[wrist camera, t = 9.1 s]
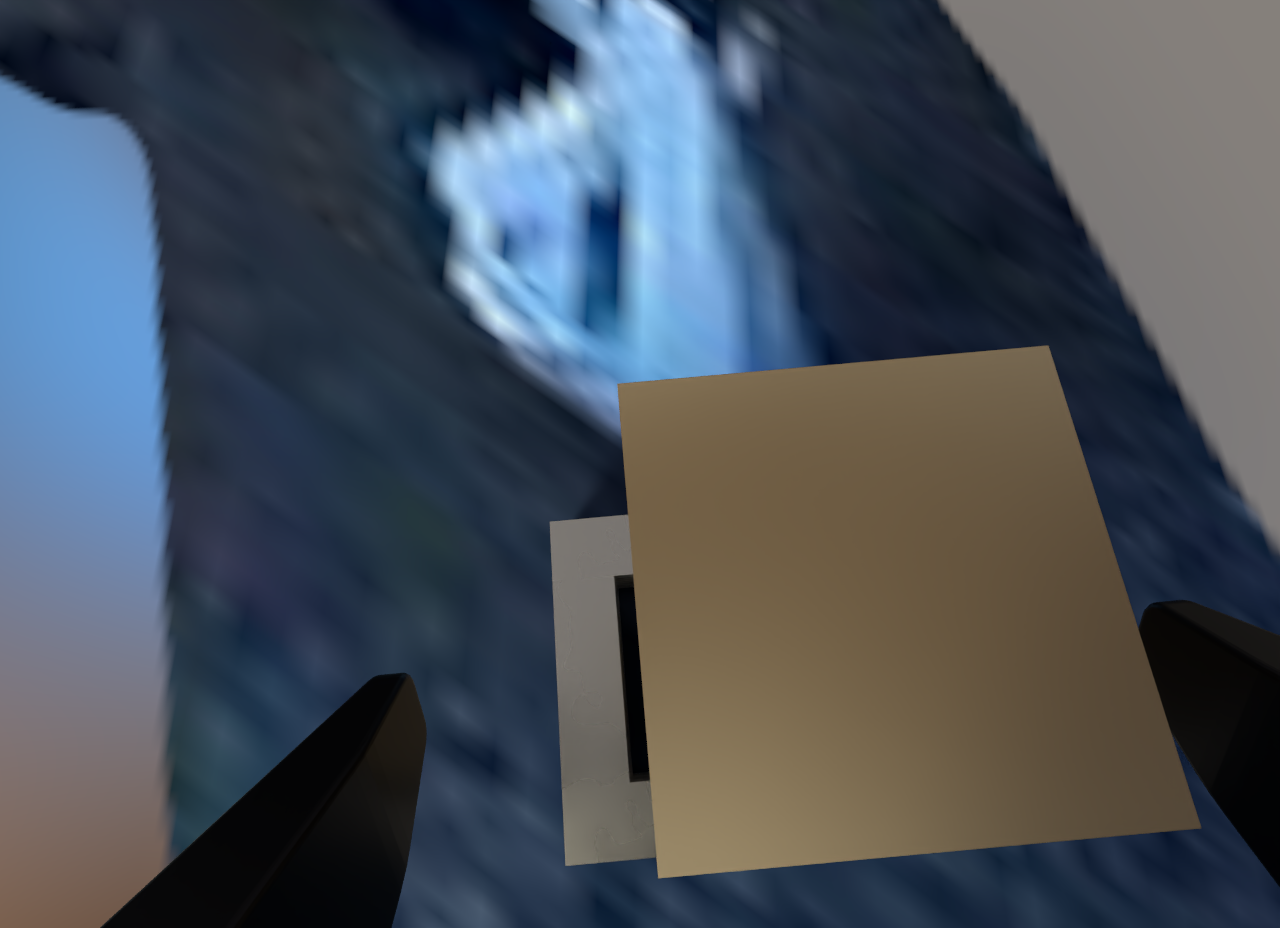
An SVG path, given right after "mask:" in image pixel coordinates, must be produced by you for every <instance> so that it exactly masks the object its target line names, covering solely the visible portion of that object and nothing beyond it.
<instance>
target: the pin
mask: <svg viewBox="0 0 1280 928" xmlns="http://www.w3.org/2000/svg"><path fill="white" fill-rule="evenodd" d="M617 385H618V397H619V409H620V421H621V434H622V446H623V458H624V470H625V482H626V494H627V506H628V518H629V530H630V542H631V554H632V566H633V578H634V591H635V603H636V615H637V627H638V639H639V651H640V663H641V675H642V687H643V699H644V711H645V723H646V735H647V747H648V760H649V772H650V784H651V796H652V808H653V820H654V832H655V844H656V856H657V868H658V878H666V877H677V876H688V875H698V874H709V873H720V872H731V871H742V870H753V869H764V868H774V867H785V866H796V865H807V864H818V863H829V862H840V861H851V860H861V859H872V858H883V857H894V856H905V855H916V854H927V853H937V852H948V851H959V850H970V849H981V848H992V847H1003V846H1013V845H1024V844H1035V843H1046V842H1057V841H1068V840H1079V839H1090V838H1100V837H1111V836H1122V835H1133V834H1144V833H1155V832H1166V831H1176V830H1187V829H1198V828H1201V825H1200V822H1199V819H1198V816H1197V813H1196V810H1195V806H1194V803H1193V800H1192V797H1191V794H1190V791H1189V788H1188V784H1187V781H1186V778H1185V775H1184V772H1183V769H1182V765H1181V762H1180V759H1179V756H1178V753H1177V750H1176V747H1175V743H1174V740H1173V737H1172V734H1171V731H1170V728H1169V724H1168V721H1167V718H1166V715H1165V712H1164V709H1163V706H1162V702H1161V699H1160V696H1159V693H1158V690H1157V687H1156V683H1155V680H1154V677H1153V674H1152V671H1151V668H1150V665H1149V661H1148V658H1147V655H1146V652H1145V649H1144V646H1143V642H1142V639H1141V636H1140V633H1139V630H1138V627H1137V624H1136V620H1135V617H1134V614H1133V611H1132V608H1131V605H1130V601H1129V598H1128V595H1127V592H1126V589H1125V586H1124V583H1123V579H1122V576H1121V573H1120V570H1119V567H1118V564H1117V560H1116V557H1115V554H1114V551H1113V548H1112V545H1111V542H1110V538H1109V535H1108V532H1107V529H1106V526H1105V523H1104V519H1103V516H1102V513H1101V510H1100V507H1099V504H1098V501H1097V497H1096V494H1095V491H1094V488H1093V485H1092V482H1091V478H1090V475H1089V472H1088V469H1087V466H1086V463H1085V460H1084V456H1083V453H1082V450H1081V447H1080V444H1079V441H1078V437H1077V434H1076V431H1075V428H1074V425H1073V422H1072V419H1071V415H1070V412H1069V409H1068V406H1067V403H1066V400H1065V396H1064V393H1063V390H1062V387H1061V384H1060V381H1059V378H1058V374H1057V371H1056V368H1055V365H1054V362H1053V359H1052V355H1051V352H1050V349H1049V346H1037V347H1026V348H1015V349H1004V350H992V351H981V352H970V353H959V354H947V355H936V356H925V357H914V358H902V359H891V360H880V361H869V362H858V363H846V364H835V365H824V366H813V367H801V368H790V369H779V370H768V371H756V372H745V373H734V374H723V375H711V376H700V377H689V378H678V379H666V380H655V381H644V382H633V383H621V384H617Z"/></svg>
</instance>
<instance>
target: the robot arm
mask: <svg viewBox="0 0 1280 928" xmlns="http://www.w3.org/2000/svg"><path fill="white" fill-rule="evenodd" d="M1138 630H1139V633H1140V636H1141V639H1142V642H1143V646H1144V649H1145V652H1146V655H1147V658H1148V661H1149V665H1150V668H1151V671H1152V674H1153V677H1154V680H1155V683H1156V687H1157V690H1158V693H1159V696H1160V699H1161V702H1162V706H1163V709H1164V712H1165V715H1166V718H1167V721H1168V724H1169V728H1170V731H1171V733H1172V735H1173V737H1174V738H1175V740H1176V741H1177V743H1178V745H1179V746H1180V748H1181V749H1182V751H1183V753H1184V754H1185V756H1186V757H1187V759H1188V761H1189V762H1190V764H1191V765H1192V767H1193V769H1194V770H1195V772H1196V773H1197V775H1198V776H1199V778H1200V779H1201V781H1202V783H1203V784H1204V786H1205V787H1206V789H1207V790H1208V792H1209V793H1210V795H1211V796H1212V797H1213V799H1214V800H1215V801H1216V803H1217V804H1218V806H1219V807H1220V808H1221V810H1222V811H1223V813H1224V814H1225V815H1226V817H1227V818H1228V819H1229V821H1230V822H1231V823H1232V825H1233V826H1234V827H1235V829H1236V830H1237V831H1238V833H1239V834H1240V835H1241V836H1242V838H1243V839H1244V840H1245V842H1246V843H1247V844H1248V846H1249V847H1250V848H1251V850H1252V851H1253V852H1254V854H1255V855H1256V856H1257V858H1258V859H1259V860H1260V862H1261V863H1262V864H1263V866H1264V867H1265V868H1266V870H1267V871H1268V872H1269V874H1270V875H1271V876H1272V878H1273V879H1274V880H1275V882H1276V883H1277V884H1278V886H1279V887H1280V636H1279V635H1277V634H1274V633H1272V632H1269V631H1267V630H1264V629H1261V628H1259V627H1256V626H1254V625H1251V624H1249V623H1246V622H1243V621H1241V620H1238V619H1236V618H1233V617H1231V616H1228V615H1225V614H1223V613H1220V612H1218V611H1215V610H1213V609H1210V608H1207V607H1205V606H1202V605H1200V604H1197V603H1195V602H1191V601H1187V600H1176V601H1165V602H1156V603H1153V604H1150V605H1149V606H1148V607H1147V608H1146V609H1145V611H1144V613H1143V616H1142V619H1141V622H1140V626H1139V629H1138ZM426 735H427V733H426V722H425V719H424V715H423V712H422V708H421V705H420V702H419V698H418V695H417V691H416V688H415V685H414V682H413V680H412V678H411V676H410V675H408V674H406V673H396V674H385V675H378V676H375V677H373V678H372V679H370V680H369V681H368V682H367V683H366V684H365V685H364V686H362V687H361V688H360V689H359V690H358V691H357V692H356V693H355V694H354V695H353V696H352V697H350V698H349V699H348V700H347V701H346V702H345V703H344V704H343V705H342V706H341V707H340V708H338V709H337V710H336V711H335V712H334V713H333V714H332V715H331V716H330V717H329V718H328V719H327V720H325V721H324V722H323V723H322V724H321V725H320V726H319V727H318V728H317V729H316V730H315V731H313V732H312V733H311V734H310V735H309V736H308V737H307V738H306V739H305V740H304V741H303V742H302V743H300V744H299V745H298V746H297V747H296V748H295V749H294V750H293V751H292V752H291V753H290V754H288V755H287V756H286V757H285V758H284V759H283V760H282V761H281V762H280V763H279V764H278V765H277V766H275V767H274V768H273V769H272V770H271V771H270V772H269V773H268V774H267V775H266V776H265V777H263V778H262V779H261V780H260V781H259V782H258V783H257V784H256V785H255V786H254V787H253V788H251V789H250V790H249V791H248V792H247V793H246V794H245V795H244V796H243V797H242V798H241V799H240V800H238V801H237V802H236V803H235V804H234V805H233V806H232V807H231V808H230V809H229V810H228V811H226V812H225V813H224V814H223V815H222V816H221V817H220V818H219V819H218V820H217V821H216V822H215V823H213V824H212V825H211V826H210V827H209V828H208V829H207V830H206V831H205V832H204V833H203V834H201V835H200V836H199V837H198V838H197V839H196V840H195V841H194V842H193V843H192V844H191V845H190V846H188V847H187V848H186V849H185V850H184V851H183V852H182V853H181V854H180V855H179V856H178V857H176V858H175V859H174V860H173V861H172V862H171V863H170V864H169V865H168V866H167V867H166V868H164V869H163V870H162V871H161V872H160V873H159V874H158V875H157V876H156V877H155V878H154V879H153V880H151V881H150V882H149V883H148V884H147V885H146V886H145V887H144V888H143V889H142V890H141V891H140V892H138V893H137V894H136V895H135V896H134V897H133V898H132V899H131V900H130V901H129V902H128V903H126V904H125V905H124V906H123V907H122V908H121V909H120V910H119V911H118V912H117V913H116V914H114V915H113V916H112V917H111V918H110V919H109V920H108V921H107V922H106V923H105V924H104V925H103V926H102V927H100V928H392V924H393V920H394V916H395V912H396V909H397V905H398V901H399V897H400V893H401V889H402V885H403V881H404V876H405V872H406V868H407V862H408V856H409V851H410V845H411V838H412V831H413V825H414V818H415V812H416V805H417V799H418V792H419V786H420V779H421V772H422V766H423V759H424V753H425V746H426Z"/></svg>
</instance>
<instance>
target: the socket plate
mask: <svg viewBox="0 0 1280 928" xmlns="http://www.w3.org/2000/svg"><path fill="white" fill-rule="evenodd" d="M550 536H551V558H552V580H553V602H554V623H555V645H556V667H557V689H558V710H559V732H560V754H561V776H562V797H563V819H564V841H565V863H566V866H569V865H579V864H590V863H601V862H611V861H622V860H632V859H643V858H654V857H657V856H656V844H655V832H654V820H653V808H652V796H651V784H650V772H640V773H633V769H632V757H631V744H630V731H629V718H628V705H627V692H626V679H625V666H624V653H623V640H622V627H621V614H620V601H619V588H628V587H634V578H633V566H632V554H631V542H630V530H629V518H628V515H619V516H608V517H597V518H586V519H575V520H564V521H553V522H550Z"/></svg>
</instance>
